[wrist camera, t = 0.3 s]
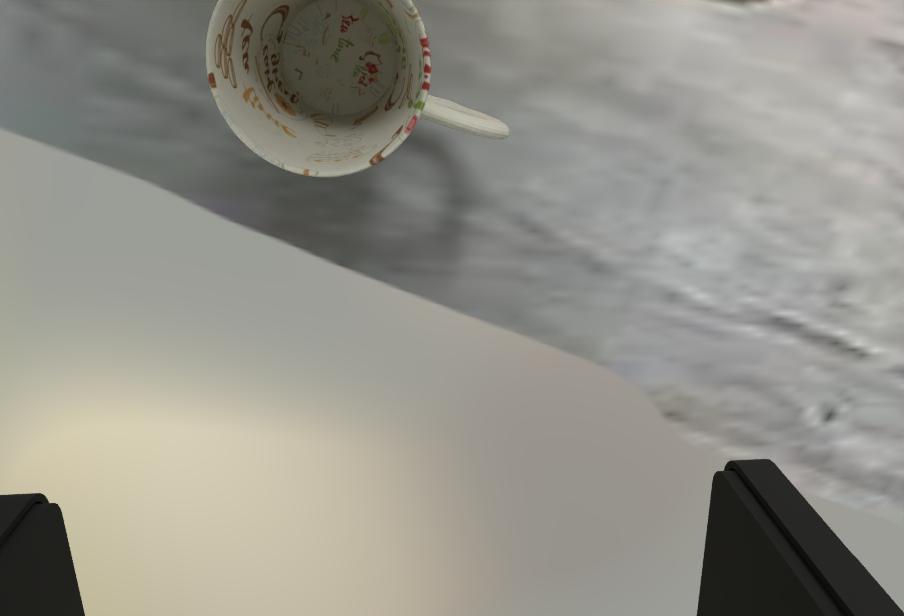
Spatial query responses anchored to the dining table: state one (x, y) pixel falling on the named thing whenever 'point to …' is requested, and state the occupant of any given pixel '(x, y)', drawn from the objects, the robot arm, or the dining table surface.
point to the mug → (327, 81)
